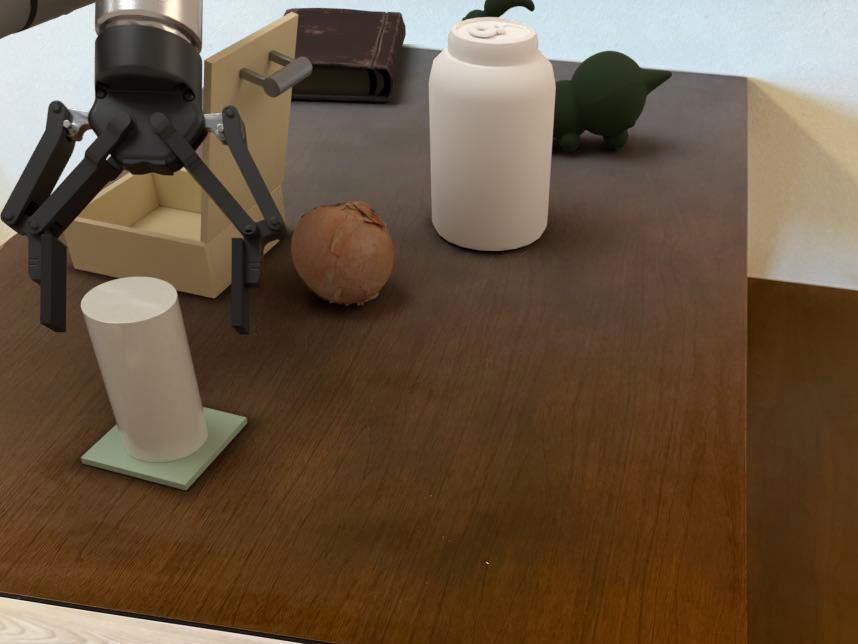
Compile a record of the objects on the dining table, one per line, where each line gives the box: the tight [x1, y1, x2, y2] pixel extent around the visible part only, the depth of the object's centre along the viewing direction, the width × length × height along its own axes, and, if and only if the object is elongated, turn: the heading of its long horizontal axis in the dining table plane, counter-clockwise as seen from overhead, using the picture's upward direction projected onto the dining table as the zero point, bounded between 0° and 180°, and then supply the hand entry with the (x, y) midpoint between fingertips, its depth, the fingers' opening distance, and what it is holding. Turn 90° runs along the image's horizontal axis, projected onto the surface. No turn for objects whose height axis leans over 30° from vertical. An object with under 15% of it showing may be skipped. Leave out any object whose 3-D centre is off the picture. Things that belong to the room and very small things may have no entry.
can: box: [428, 16, 556, 252], centre depth 98 cm, size 12×12×20 cm
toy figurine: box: [461, 0, 673, 152], centre depth 116 cm, size 9×19×25 cm
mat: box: [80, 406, 248, 491], centre depth 75 cm, size 9×9×1 cm
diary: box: [282, 7, 407, 103], centre depth 137 cm, size 19×25×5 cm
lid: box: [200, 12, 312, 244], centre depth 87 cm, size 16×15×4 cm
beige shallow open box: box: [63, 167, 287, 299], centre depth 96 cm, size 16×15×5 cm
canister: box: [80, 277, 208, 463], centre depth 71 cm, size 6×6×12 cm
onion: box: [290, 199, 395, 307], centre depth 90 cm, size 10×9×10 cm
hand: (147, 329), depth 71 cm, fingers open, 13 cm apart
